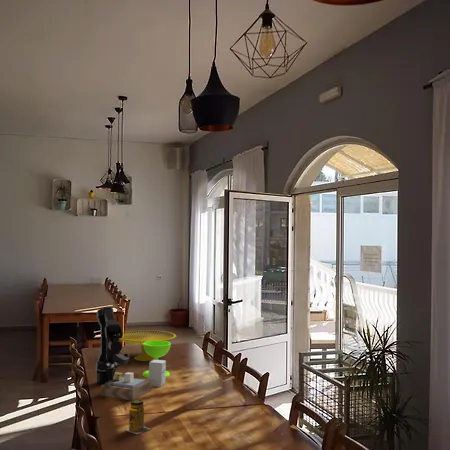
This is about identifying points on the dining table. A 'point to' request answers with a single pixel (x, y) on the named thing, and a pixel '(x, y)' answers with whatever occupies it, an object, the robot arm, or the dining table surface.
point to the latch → (118, 376)
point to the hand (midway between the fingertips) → (111, 379)
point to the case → (124, 390)
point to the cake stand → (141, 340)
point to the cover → (128, 381)
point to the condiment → (137, 417)
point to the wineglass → (156, 352)
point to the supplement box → (157, 372)
